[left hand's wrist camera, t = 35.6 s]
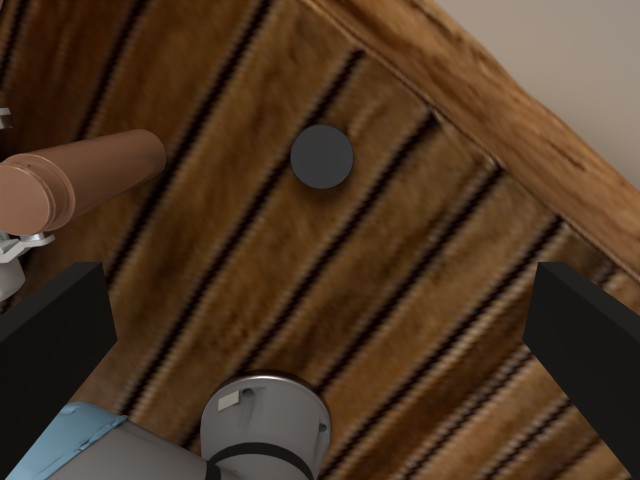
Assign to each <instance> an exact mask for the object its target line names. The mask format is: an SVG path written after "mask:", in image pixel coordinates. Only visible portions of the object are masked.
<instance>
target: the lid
mask: <svg viewBox="0 0 640 480" xmlns="http://www.w3.org/2000/svg"><path fill="white" fill-rule="evenodd" d="M353 156H354V154H353V149H352V144H351V143H350V142H349V140H348V138H347V135H346V134H344V133H343V132H342V131H341V130H340V129H339V128H336V127H335V126H332V125H331V124H321V123H319V124H315V125H312V126H311V125H310V126H309V127H307V128H306V129H304V130H302V131H301V133H300V134H299V135H298V136H297V138H295V142H294V144H293V146H292V147H291V158H290V160H291V165H292V169H293V171H294V173H295V174H296V176H297V177H298V178H299V179H300V180H301V181H302V182H303V183H304V184H306V185H308V186H310V187H313V188H317V189H327V188H331V187H334V186H336V185H338V184H339V183H341V182H342V181H343V180H344V179H345V178H346V177H347V176H348V174H349V172H350V171H351V168H352V166H353Z"/></svg>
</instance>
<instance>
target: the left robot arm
mask: <svg viewBox="0 0 640 480" xmlns="http://www.w3.org/2000/svg"><path fill="white" fill-rule="evenodd" d="M116 341H117V335H116V331H115V326H114V321H113V316H112V311H111V306H110V301H109V296H108V291H107V286H106V281H105V276H104V271H103V266H102V262H76V263H74V264H73V265H71V266H70V267H69V268H67V269H66V270H64V271H63V272H62V273H60V274H59V275H57V276H56V277H54V278H53V279H52V280H50V281H49V282H47V283H46V284H45V285H43V286H42V287H40V288H39V289H38V290H36V291H35V292H33V293H32V294H31V295H29V296H28V297H26V298H25V299H23V300H22V301H21V302H19V303H18V304H16V305H15V306H14V307H12V308H11V309H9V310H8V311H7V312H5V313H4V314H2V315H1V316H0V480H316V479H317V477H318V474H319V471H320V469H321V466H322V463H323V461H324V458H325V455H326V453H327V450H328V447H329V443H330V438H331V416H330V411H329V408H328V405H327V403H326V401H325V400H324V398H323V397H322V395H321V394H320V393H319V392H318V391H317V390H316V389H315V388H314V387H313V386H312V385H311V384H309V383H308V382H306V381H305V380H303V379H301V378H299V377H297V376H295V375H292V374H289V373H285V372H282V371H276V370H254V371H248V372H244V373H241V374H238V375H236V376H233V377H231V378H229V379H228V380H226V381H225V382H223V383H222V384H221V385H219V386H218V387H217V388H216V389H215V390H214V392H213V393H212V394H211V396H210V398H209V399H208V402H207V404H206V407H205V409H204V412H203V416H202V421H201V428H200V434H201V454H202V457H200V456H198V455H196V454H193V453H192V452H190V451H188V450H186V449H184V448H182V447H180V446H178V445H176V444H174V443H172V442H170V441H168V440H166V439H164V438H162V437H160V436H158V435H156V434H154V433H153V432H151V431H149V430H147V429H145V428H143V427H141V426H139V425H137V424H135V423H133V422H131V421H129V420H128V419H129V417H127V416H126V415H122V416H119V415H117V414H114V413H112V412H110V411H107V410H105V409H103V408H101V407H98V406H96V405H94V404H92V403H89V402H83V401H80V402H73V403H70V404H67V402H68V401H69V400H70V399H71V397H72V396H73V395H74V394H75V392H76V391H77V390H78V389H79V387H80V386H81V385H82V384H83V382H84V381H85V380H86V379H87V377H88V376H89V375H90V374H91V372H92V371H93V370H94V369H95V368H96V366H97V365H98V364H99V363H100V361H101V360H102V359H103V358H104V356H105V355H106V354H107V353H108V351H109V350H110V349H111V348H112V346H113V345H114V344H115V343H116ZM523 341H524V343H525V344H526V345H527V346H528V348H529V349H530V350H531V351H532V353H533V354H534V355H535V356H536V358H537V359H538V360H539V361H540V363H541V364H542V365H543V366H544V368H545V369H546V370H547V371H548V372H549V374H550V375H551V376H552V377H553V379H554V380H555V381H556V382H557V384H558V385H559V386H560V387H561V389H562V390H563V391H564V392H565V394H566V395H567V396H568V397H569V399H570V400H571V401H572V402H573V404H574V405H575V406H576V407H577V408H578V410H579V411H580V412H581V413H582V415H583V416H584V417H585V418H586V420H587V421H588V422H589V423H590V425H591V426H592V427H593V428H594V430H595V431H596V432H597V433H598V435H599V436H600V437H601V438H602V440H603V441H604V442H605V443H606V444H607V446H608V447H609V448H610V449H611V451H612V452H613V453H614V454H615V456H616V457H617V458H618V459H619V461H620V462H621V463H622V464H623V466H624V467H625V468H626V469H627V471H628V472H629V473H630V474H631V475H632V477H633V478H634V479H635V480H640V316H639V315H638V314H636V313H635V312H633V311H632V310H631V309H629V308H628V307H626V306H625V305H624V304H622V303H621V302H619V301H618V300H617V299H615V298H614V297H612V296H611V295H609V294H608V293H607V292H605V291H604V290H602V289H601V288H600V287H598V286H597V285H595V284H594V283H593V282H591V281H590V280H588V279H587V278H586V277H584V276H583V275H581V274H580V273H578V272H577V271H576V270H574V269H573V268H571V267H570V266H569V265H567V264H566V263H564V262H538V266H537V271H536V276H535V281H534V286H533V291H532V296H531V301H530V306H529V311H528V316H527V321H526V326H525V331H524V335H523ZM66 404H67V405H66Z"/></svg>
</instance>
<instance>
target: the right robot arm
mask: <svg viewBox="0 0 640 480" xmlns="http://www.w3.org/2000/svg"><path fill="white" fill-rule="evenodd" d="M12 127H15V125H14V122H13V119H12V116H11V114H10V111H9V108H0V129H4V128H12ZM20 238H21V241H19V240H18V239H12V240H10V238H9V235H8V233H6V232H4V231H2V230H0V302H1V301H3V300H5V299H6V298H8V297H9V296H11V295H12V294H14V293H15V292H16V291H18V289H19V288H20V287H21V286H22V285H23V283H24V282H25V275H24V273H23V270H22V268H21V265H20V263H19V260H18V258H17V257H19V256H21V255H22V254H24V253H26V252H27V251H28V250H29V249H30V248H31V247H36V246H42V245H46V244H48V243H50V242H52V241H54V240H55V237H54V234H53V232H52V230H51V231H43V232H42V233H40V234H36V235H32V236H28V235H27V236H20Z"/></svg>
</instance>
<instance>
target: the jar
mask: <svg viewBox="0 0 640 480" xmlns="http://www.w3.org/2000/svg"><path fill="white" fill-rule="evenodd" d="M166 160H167V155H166V150H165V148H164V145H163V144H162V142H161V141H160V139H159V138H158V137H157V136H155V135H154V134H153V133H151V132H149V131H147V130H143V129H133V130H128V131H123V132H119V133H114V134H109V135H105V136H100V137H96V138H91V139H86V140H82V141H77V142H72V143H68V144H63V145H59V146H54V147H49V148H45V149H40V150H35V151H31V152H26V153H22V154H17V155H14V156H11V157H9V158H7V159H6V160H4V161H3V162H2V163H0V230H2V231H4V232H6V233H9V234H12V235H18V236H27V235H28V236H32V235H36V234H40V233H42V232H43V231H51V230H55V229H58V228H60V227H62V226H64V225H66V224H68V223H70V222H72V221H73V220H75V219H77V218H79V217H81V216H83V215H85V214H87V213H88V212H90V211H92V210H94V209H96V208H98V207H100V206H102V205H103V204H105V203H107V202H109V201H111V200H113V199H115V198H117V197H118V196H120V195H122V194H124V193H126V192H128V191H130V190H132V189H133V188H135V187H137V186H139V185H141V184H143V183H145V182H147V181H148V180H150V179H152V178H154V177H156V176H157V175H159V174H160V173H161V172H162V171H163V169H164V167H165V165H166Z"/></svg>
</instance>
